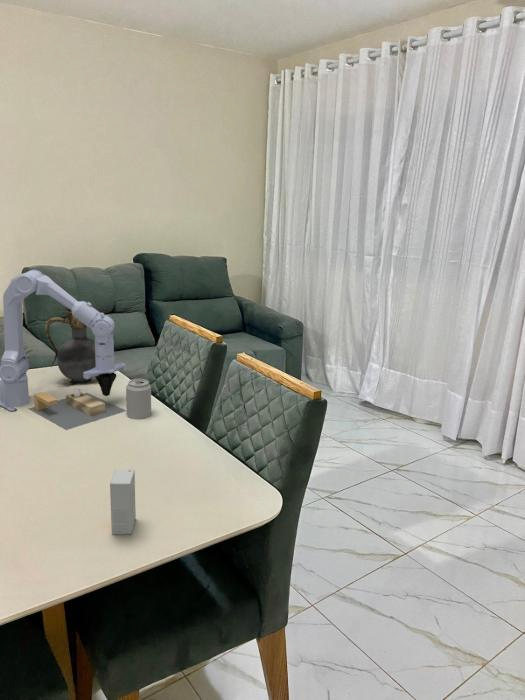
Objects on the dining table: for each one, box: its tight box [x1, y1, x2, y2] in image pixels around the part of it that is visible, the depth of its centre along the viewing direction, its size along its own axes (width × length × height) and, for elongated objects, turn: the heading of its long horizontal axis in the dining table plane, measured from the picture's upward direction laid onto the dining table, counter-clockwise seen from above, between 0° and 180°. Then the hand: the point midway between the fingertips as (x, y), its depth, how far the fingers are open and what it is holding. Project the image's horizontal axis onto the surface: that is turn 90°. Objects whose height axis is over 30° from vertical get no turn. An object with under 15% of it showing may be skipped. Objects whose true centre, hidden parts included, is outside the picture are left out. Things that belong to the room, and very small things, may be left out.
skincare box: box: [109, 468, 137, 535], centre depth 113 cm, size 6×4×12 cm
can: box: [125, 378, 152, 420], centre depth 168 cm, size 8×8×12 cm
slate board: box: [28, 388, 127, 431], centre depth 170 cm, size 22×21×6 cm
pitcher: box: [44, 306, 96, 386], centre depth 192 cm, size 11×19×30 cm, turn 107°
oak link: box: [65, 391, 105, 417], centre depth 171 cm, size 14×5×3 cm, turn 50°
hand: (106, 394), depth 174 cm, fingers closed
